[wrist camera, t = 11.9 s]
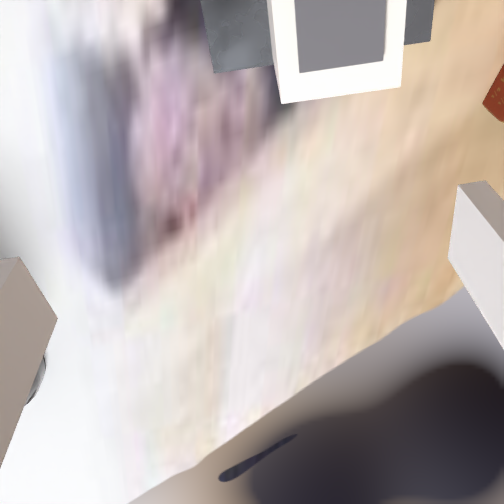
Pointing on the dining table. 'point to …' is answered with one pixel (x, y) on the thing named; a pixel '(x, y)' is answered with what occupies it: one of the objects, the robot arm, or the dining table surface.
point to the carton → (496, 97)
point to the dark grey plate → (258, 32)
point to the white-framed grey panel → (336, 46)
